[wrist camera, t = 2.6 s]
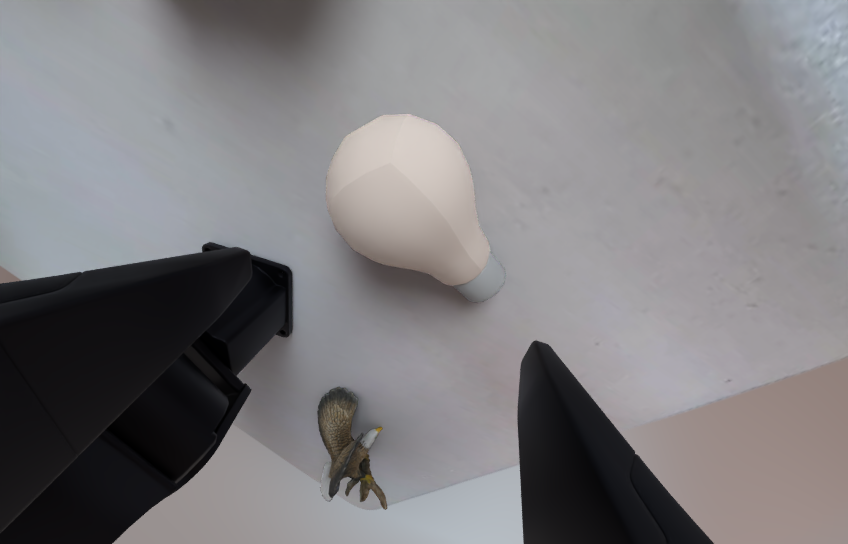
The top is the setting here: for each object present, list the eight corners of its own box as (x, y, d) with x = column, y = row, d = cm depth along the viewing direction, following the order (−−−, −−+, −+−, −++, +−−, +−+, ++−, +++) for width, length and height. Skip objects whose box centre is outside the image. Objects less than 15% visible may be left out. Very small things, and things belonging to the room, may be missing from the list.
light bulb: (552, 325, 14) (377, 122, 8) (438, 351, 18) (266, 223, 12) (542, 229, 18) (421, 52, 12) (452, 266, 22) (329, 143, 16)
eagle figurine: (418, 467, 28) (384, 419, 23) (360, 546, 25) (304, 511, 19) (368, 420, 33) (332, 371, 28) (314, 480, 30) (261, 438, 24)
